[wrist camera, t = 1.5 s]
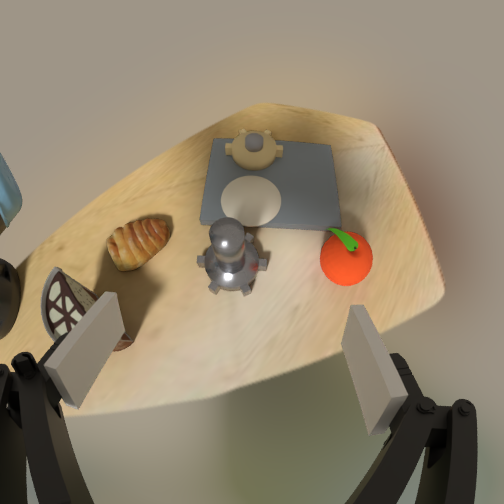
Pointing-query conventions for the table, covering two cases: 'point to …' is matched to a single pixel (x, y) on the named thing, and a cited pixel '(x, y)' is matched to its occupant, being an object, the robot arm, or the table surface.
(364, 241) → the clementine
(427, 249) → the table surface
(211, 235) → the gear
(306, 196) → the gear board
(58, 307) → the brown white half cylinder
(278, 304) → the table surface
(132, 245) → the pastry
